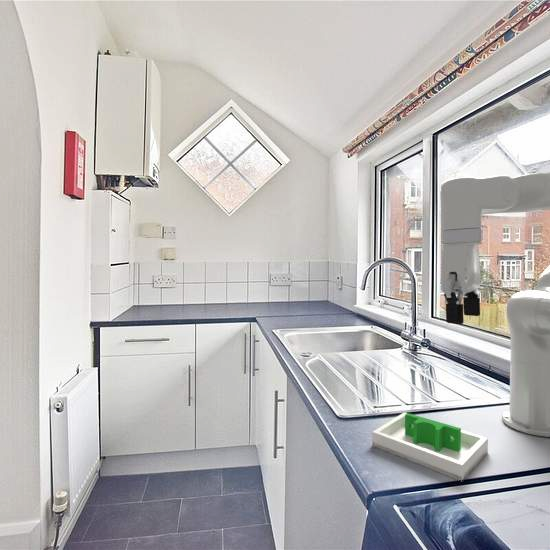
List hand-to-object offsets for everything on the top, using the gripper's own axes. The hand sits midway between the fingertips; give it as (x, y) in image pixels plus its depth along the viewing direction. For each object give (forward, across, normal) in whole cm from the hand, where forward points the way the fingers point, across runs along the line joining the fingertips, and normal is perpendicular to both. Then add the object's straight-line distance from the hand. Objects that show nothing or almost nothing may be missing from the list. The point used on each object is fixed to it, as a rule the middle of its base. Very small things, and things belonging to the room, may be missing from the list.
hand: (463, 319), depth 80 cm
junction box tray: (+26, +10, -4) cm, 28 cm away
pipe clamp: (+25, +9, -4) cm, 27 cm away
